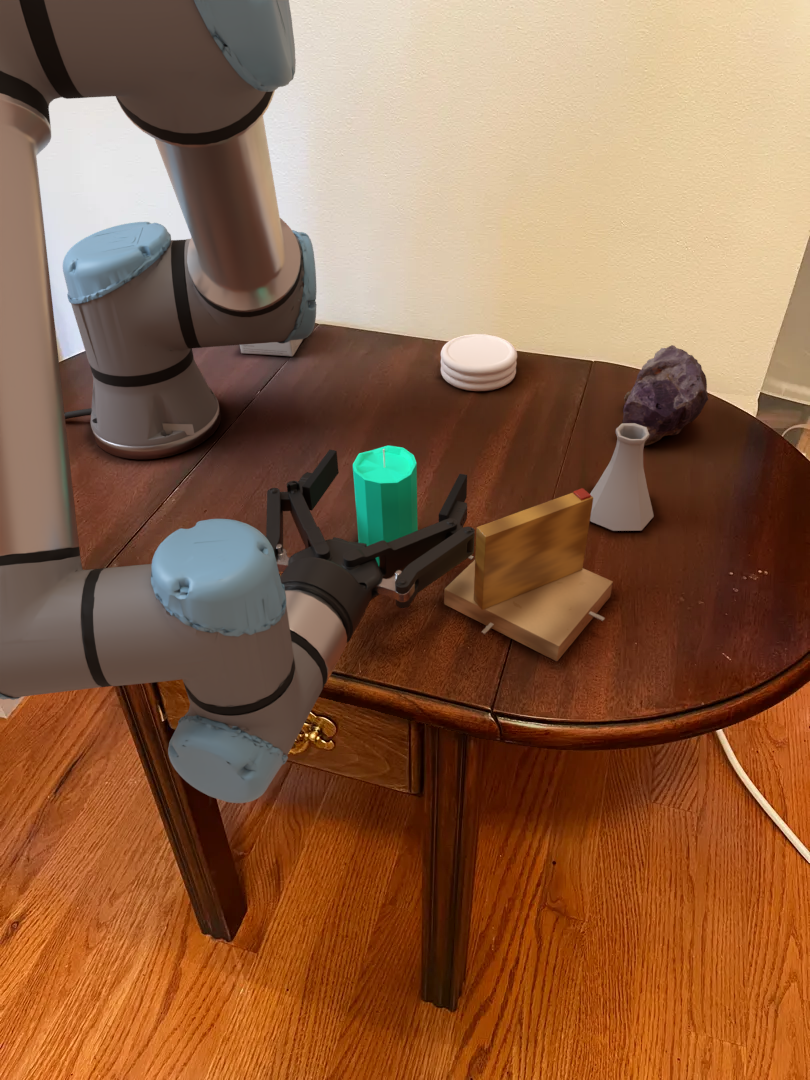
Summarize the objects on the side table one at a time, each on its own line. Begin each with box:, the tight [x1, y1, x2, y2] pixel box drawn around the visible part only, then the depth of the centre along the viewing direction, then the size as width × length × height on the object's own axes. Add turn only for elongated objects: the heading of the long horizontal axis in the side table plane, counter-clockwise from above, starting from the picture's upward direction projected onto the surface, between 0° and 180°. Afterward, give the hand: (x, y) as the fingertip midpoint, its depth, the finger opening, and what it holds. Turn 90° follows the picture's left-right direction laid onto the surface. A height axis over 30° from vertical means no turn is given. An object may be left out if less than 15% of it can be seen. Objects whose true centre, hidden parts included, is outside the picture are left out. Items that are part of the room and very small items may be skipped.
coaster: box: [440, 333, 518, 392], centre depth 110 cm, size 10×10×4 cm
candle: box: [352, 445, 419, 566], centre depth 80 cm, size 6×6×12 cm
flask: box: [589, 423, 655, 532], centre depth 85 cm, size 7×7×10 cm
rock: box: [621, 344, 709, 446], centre depth 98 cm, size 12×9×10 cm
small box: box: [239, 339, 304, 357], centre depth 118 cm, size 8×8×5 cm
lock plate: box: [443, 555, 614, 662], centre depth 77 cm, size 15×15×2 cm
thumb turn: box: [474, 487, 593, 610], centre depth 74 cm, size 11×2×9 cm, turn 118°
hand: (397, 472), depth 82 cm, fingers open, 13 cm apart
